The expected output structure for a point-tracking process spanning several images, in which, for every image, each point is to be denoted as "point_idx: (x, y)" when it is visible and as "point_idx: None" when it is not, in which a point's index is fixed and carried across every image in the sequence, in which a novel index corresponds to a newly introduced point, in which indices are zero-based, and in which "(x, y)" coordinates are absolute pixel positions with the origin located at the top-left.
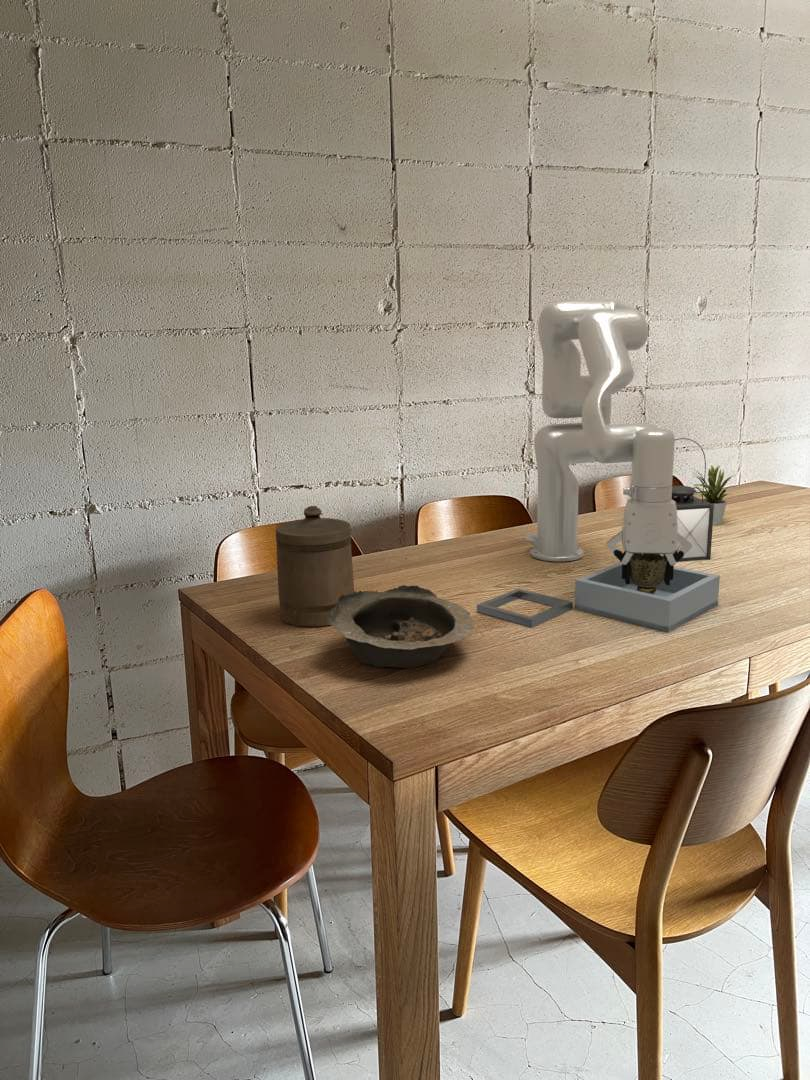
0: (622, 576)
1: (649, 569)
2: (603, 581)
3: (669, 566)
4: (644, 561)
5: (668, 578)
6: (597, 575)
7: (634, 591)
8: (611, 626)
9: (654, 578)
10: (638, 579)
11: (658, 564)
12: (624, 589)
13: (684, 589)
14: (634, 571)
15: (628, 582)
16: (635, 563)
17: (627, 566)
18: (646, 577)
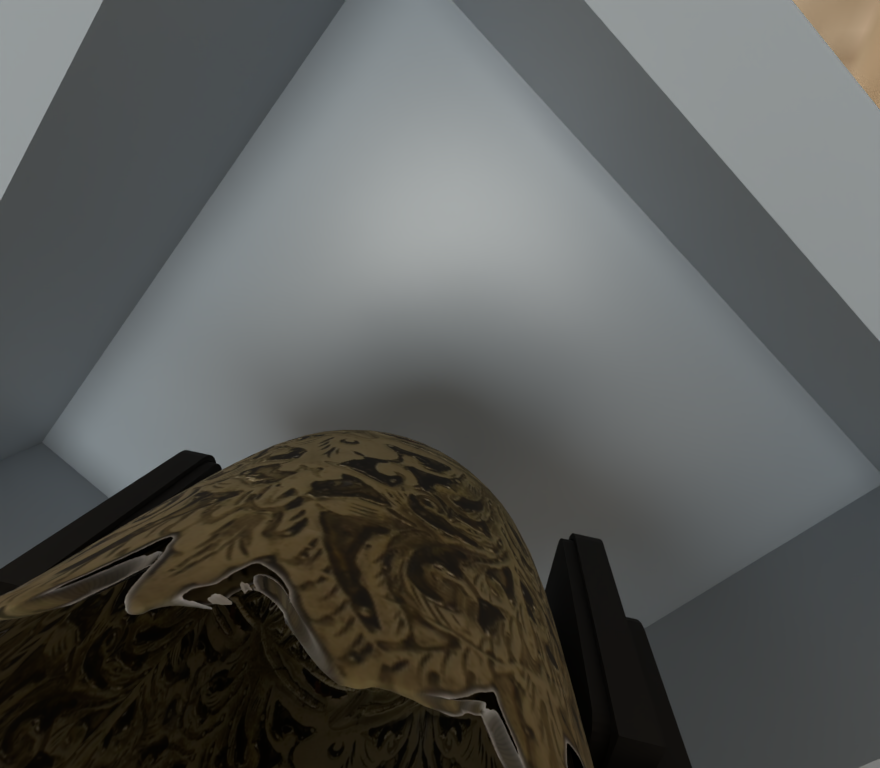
0: (642, 632)
1: (327, 502)
2: (716, 712)
3: (8, 576)
4: (380, 642)
5: (152, 480)
6: (874, 751)
7: (706, 35)
8: (834, 27)
9: (303, 442)
10: (491, 498)
11: (113, 542)
12: (817, 164)
13: (17, 111)
14: (540, 602)
15: (578, 542)
16: (551, 707)
17: (645, 722)
18: (401, 457)
